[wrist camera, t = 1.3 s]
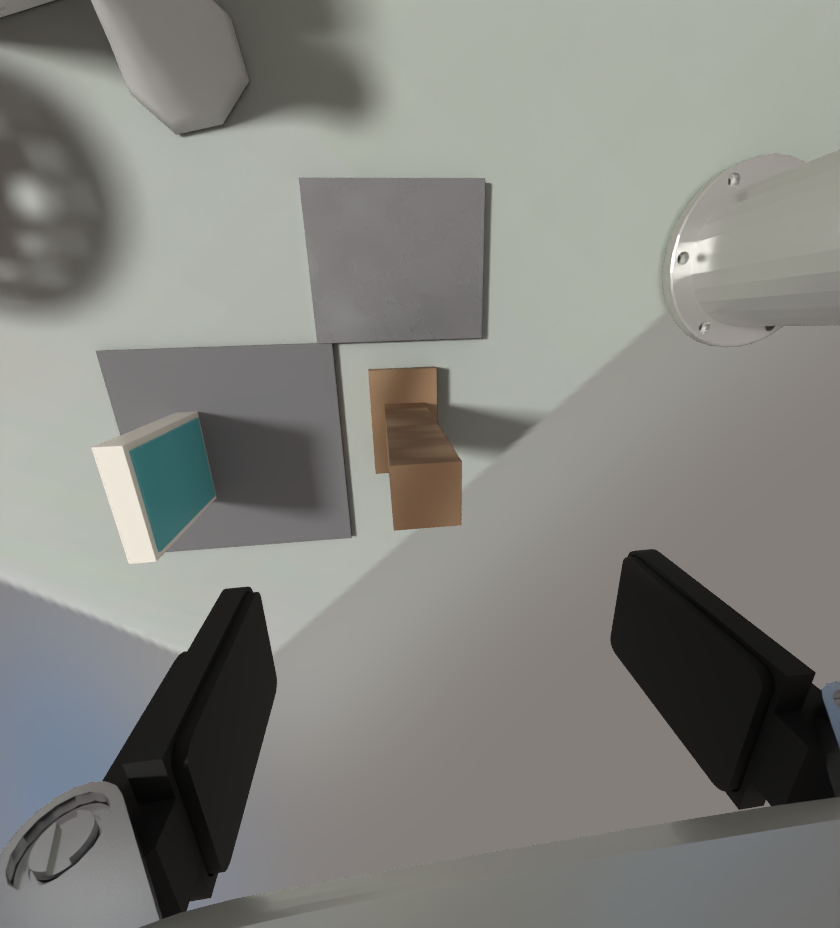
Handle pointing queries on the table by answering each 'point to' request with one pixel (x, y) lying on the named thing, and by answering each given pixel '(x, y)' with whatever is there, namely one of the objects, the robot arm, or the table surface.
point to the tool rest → (395, 257)
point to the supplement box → (18, 5)
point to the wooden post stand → (414, 448)
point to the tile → (156, 483)
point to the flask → (176, 58)
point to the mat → (247, 435)
